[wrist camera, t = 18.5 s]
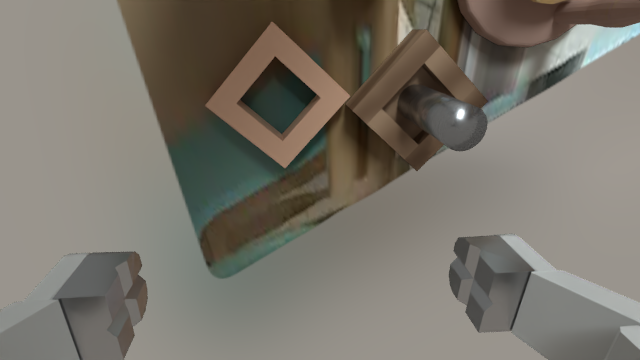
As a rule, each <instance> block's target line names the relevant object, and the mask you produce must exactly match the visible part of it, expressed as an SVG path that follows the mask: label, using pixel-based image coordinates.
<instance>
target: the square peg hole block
mask: <svg viewBox="0 0 640 360" xmlns="http://www.w3.org/2000/svg"><path fill="white" fill-rule="evenodd" d="M413 84H420V85H423V86H425V87H428V88H431V89H433V90H436V91H438V92H441V93H443V94H446V95H448V96H451V97H453V98H456V99H459V100H461V101H464V102H466V103H469V104H471V105H474V106H476V107H478V108H481V107H482V106H484V105H485V104H486V103H487V102H488V101H487V100H486V98H485V97H484V96H483V95H482V94H481V93H480V91H479V90H478V89H477V88H476V87H475V86H474V84H473V83H472V82H471V81H470V80H469V78H468V77H467V76H466V75H465V74H464V73H463V71H462V70H461V69H460V68H459V67H458V66H457V64H456V63H455V62H454V61H453V60H452V59H451V57H450V56H449V55H448V54H447V53H446V52H445V50H444V49H443V48H442V47H441V46H440V45H439V43H438V42H437V41H436V40H435V39H434V37H433V36H432V35H431V34H430V33H429V32H428V30H412V31H411V32H410V33H409V34H408V35H407V36H406V37H405V38H404V40H403V41H402V42H401V43H400V44H399V45H398V46H397V47H396V48H395V49H394V51H393V52H392V53H391V54H390V55H389V56H388V57H387V58H386V59H385V61H384V62H383V63H382V64H381V65H380V66H379V67H378V68H377V69H376V70H375V72H374V73H373V74H372V75H371V76H370V77H369V78H368V79H367V80H366V82H365V83H364V84H363V85H362V86H361V87H360V88H359V89H358V90H357V91H356V93H355V94H354V95H353V96H352V97H351V98H350V99H349V100H348V101H347V102H346V105H347V106H348V107H349V108H350V109H351V110H352V111H353V112H354V113H355V114H356V115H357V116H359V117H360V118H361V119H362V120H363V121H364V122H365V123H366V124H367V125H368V126H369V127H370V128H371V129H372V130H373V131H375V132H376V133H377V134H378V135H379V136H380V137H381V138H382V139H383V140H384V141H385V142H386V143H387V144H388V145H390V146H391V147H392V148H393V149H394V150H395V151H396V152H397V153H398V154H399V155H400V156H401V157H402V158H403V159H404V160H406V161H407V162H408V163H409V164H410V165H411V166H412V167H413V168H414V169H415V170H416V171H418V170H419V169H420V168H421V167H422V166H423V165H424V164H425V163H426V162H427V161H428V160H429V159H430V158H431V157H432V156H433V155H434V154H435V153H436V152H437V151H438V150H439V149H440V148H441V147H442V146H443V145H444V144H443V143H441V142H440V141H438V140H437V139H436V138H434V137H433V136H431V135H430V134H428V133H427V132H426V131H424V130H423V129H421V128H420V127H418V126H417V125H415V124H414V123H413V122H411V121H410V120H408V119H407V118H405V117H404V116H403V115H402V114H401V113H400V112H399V109H398V98H399V96H400V94H401V92H402V91H403V90H404V89H405V88H406V87H408V86H410V85H413Z"/></svg>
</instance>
